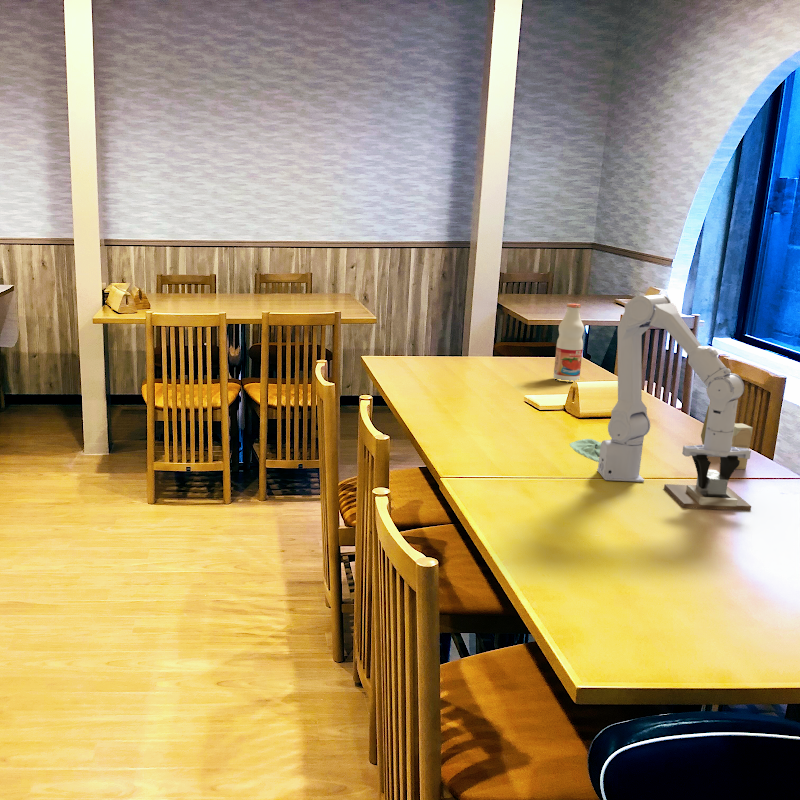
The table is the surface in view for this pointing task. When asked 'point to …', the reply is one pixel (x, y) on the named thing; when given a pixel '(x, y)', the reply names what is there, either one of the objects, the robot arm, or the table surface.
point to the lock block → (714, 485)
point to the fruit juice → (569, 345)
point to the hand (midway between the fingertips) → (711, 487)
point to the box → (741, 440)
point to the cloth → (587, 448)
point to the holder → (705, 498)
